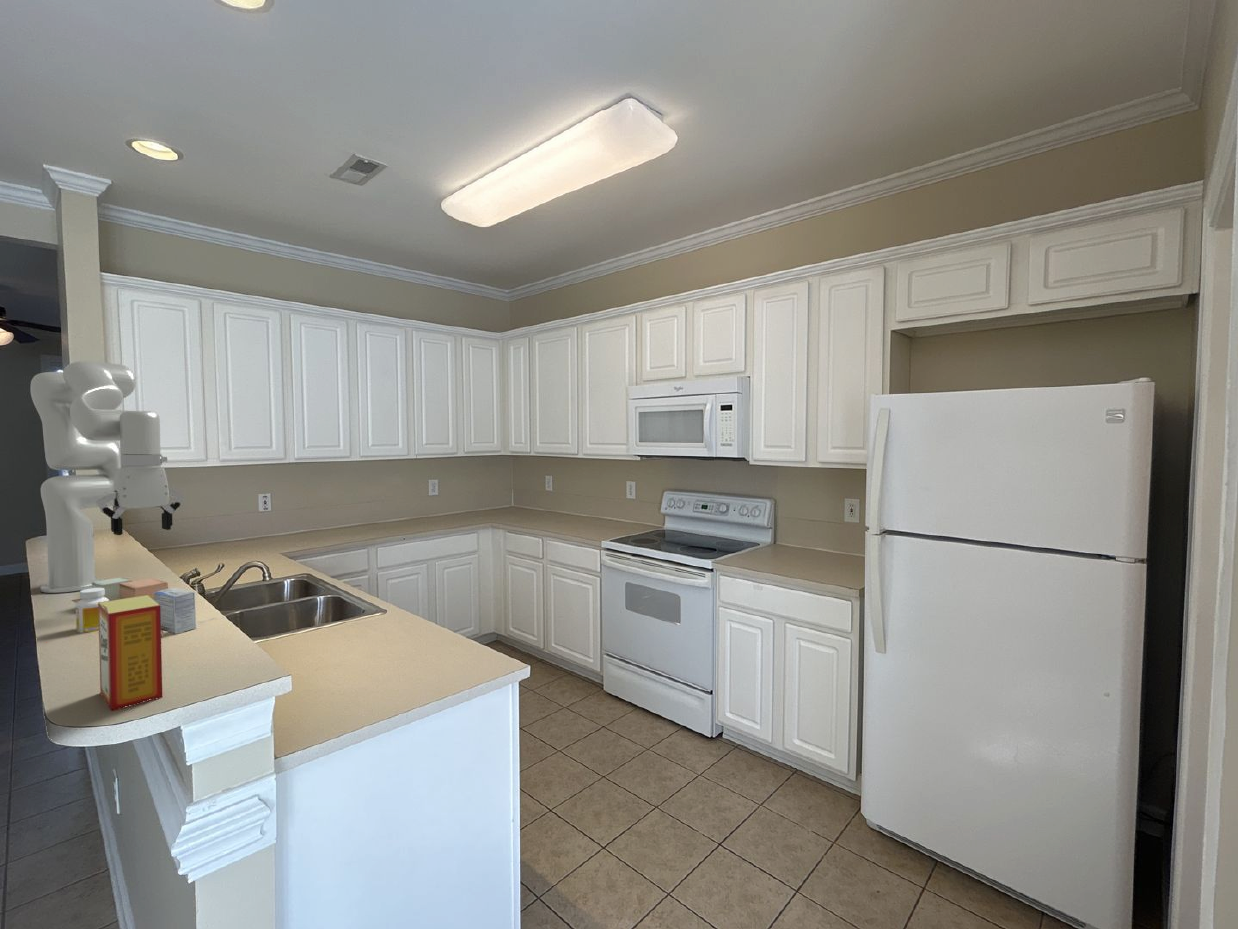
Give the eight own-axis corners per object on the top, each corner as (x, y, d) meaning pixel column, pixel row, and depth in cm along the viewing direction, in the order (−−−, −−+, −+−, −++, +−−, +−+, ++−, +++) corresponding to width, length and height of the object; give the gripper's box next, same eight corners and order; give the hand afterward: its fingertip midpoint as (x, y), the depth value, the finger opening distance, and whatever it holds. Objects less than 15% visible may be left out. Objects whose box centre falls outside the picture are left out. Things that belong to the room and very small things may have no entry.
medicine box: (196, 629, 131) (196, 591, 130) (174, 635, 127) (173, 596, 126) (176, 623, 134) (175, 586, 134) (154, 629, 130) (153, 591, 130)
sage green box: (92, 606, 142) (91, 581, 142) (122, 600, 147) (122, 577, 147) (101, 610, 139) (101, 585, 139) (132, 604, 144) (132, 580, 144)
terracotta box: (120, 607, 141) (119, 583, 141) (152, 601, 147) (152, 577, 147) (135, 613, 137) (134, 588, 137) (168, 606, 143) (167, 582, 142)
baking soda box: (100, 693, 98) (98, 600, 97) (149, 681, 103) (147, 592, 102) (111, 711, 92) (108, 612, 91) (162, 697, 97) (160, 603, 96)
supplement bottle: (116, 630, 129) (115, 587, 129) (92, 638, 124) (91, 593, 123) (94, 629, 130) (93, 586, 129) (69, 637, 124) (68, 592, 124)
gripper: (175, 460, 150) (177, 526, 150) (88, 462, 135) (91, 535, 136) (189, 461, 146) (190, 528, 147) (101, 463, 131) (103, 538, 132)
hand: (142, 531), depth 141 cm, fingers open, 9 cm apart
